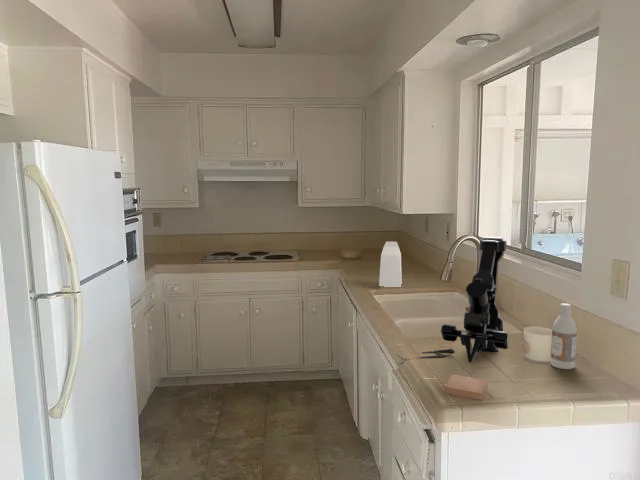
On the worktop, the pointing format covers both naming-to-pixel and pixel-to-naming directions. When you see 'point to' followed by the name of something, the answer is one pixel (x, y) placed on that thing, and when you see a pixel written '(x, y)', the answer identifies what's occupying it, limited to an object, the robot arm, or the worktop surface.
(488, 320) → the robot arm
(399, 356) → the hacksaw
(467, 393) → the tile
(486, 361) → the worktop surface
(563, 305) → the bath foam
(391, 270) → the milk
